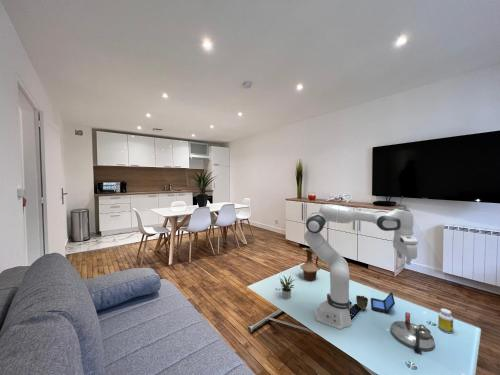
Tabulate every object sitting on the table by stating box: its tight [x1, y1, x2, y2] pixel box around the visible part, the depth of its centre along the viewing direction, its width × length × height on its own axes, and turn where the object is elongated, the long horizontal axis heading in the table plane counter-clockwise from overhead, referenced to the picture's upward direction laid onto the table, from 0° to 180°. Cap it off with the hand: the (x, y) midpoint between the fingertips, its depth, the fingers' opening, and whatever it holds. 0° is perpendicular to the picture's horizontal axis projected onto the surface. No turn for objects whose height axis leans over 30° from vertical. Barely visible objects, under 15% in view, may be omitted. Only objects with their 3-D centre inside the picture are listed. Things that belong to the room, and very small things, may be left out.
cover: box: [418, 324, 432, 340], centre depth 118 cm, size 7×7×5 cm
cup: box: [355, 295, 369, 311], centre depth 146 cm, size 8×7×8 cm
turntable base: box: [390, 330, 436, 353], centre depth 120 cm, size 20×20×1 cm
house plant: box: [279, 275, 297, 300], centre depth 162 cm, size 14×14×16 cm
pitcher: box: [300, 247, 321, 282], centre depth 191 cm, size 18×17×28 cm
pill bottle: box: [437, 308, 454, 334], centre depth 125 cm, size 6×6×12 cm
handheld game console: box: [370, 292, 396, 315], centre depth 148 cm, size 16×13×9 cm
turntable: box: [390, 311, 435, 349], centre depth 120 cm, size 20×20×8 cm
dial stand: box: [412, 323, 423, 355], centre depth 112 cm, size 3×8×12 cm, turn 155°
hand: (403, 260), depth 120 cm, fingers open, 8 cm apart
